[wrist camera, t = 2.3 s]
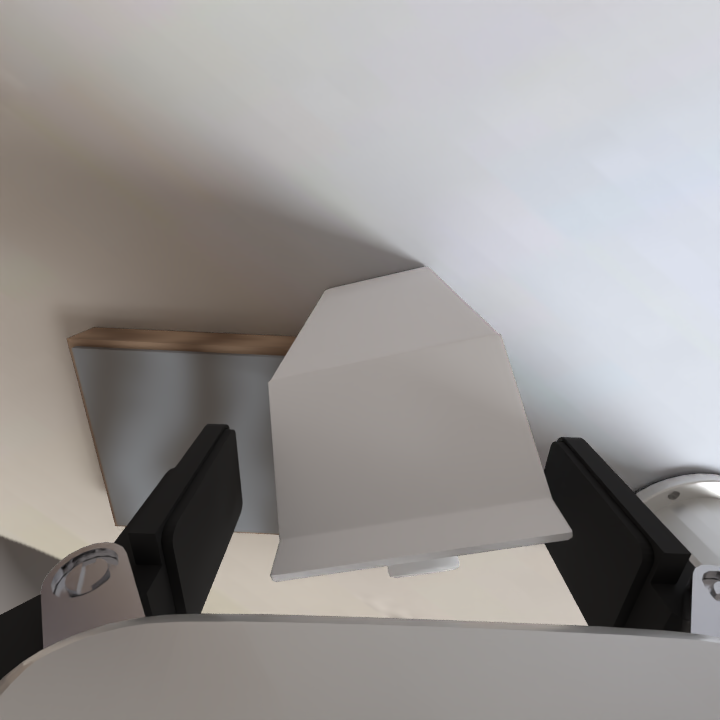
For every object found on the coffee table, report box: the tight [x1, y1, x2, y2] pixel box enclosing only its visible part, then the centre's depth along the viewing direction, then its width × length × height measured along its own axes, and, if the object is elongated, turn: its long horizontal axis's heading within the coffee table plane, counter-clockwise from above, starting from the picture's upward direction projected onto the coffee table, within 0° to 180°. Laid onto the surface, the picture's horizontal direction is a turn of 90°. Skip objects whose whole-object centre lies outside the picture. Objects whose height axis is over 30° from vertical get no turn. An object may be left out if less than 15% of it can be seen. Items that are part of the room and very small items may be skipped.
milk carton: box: [268, 267, 573, 582], centre depth 18 cm, size 7×7×19 cm
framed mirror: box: [67, 327, 296, 535], centre depth 28 cm, size 16×16×3 cm
